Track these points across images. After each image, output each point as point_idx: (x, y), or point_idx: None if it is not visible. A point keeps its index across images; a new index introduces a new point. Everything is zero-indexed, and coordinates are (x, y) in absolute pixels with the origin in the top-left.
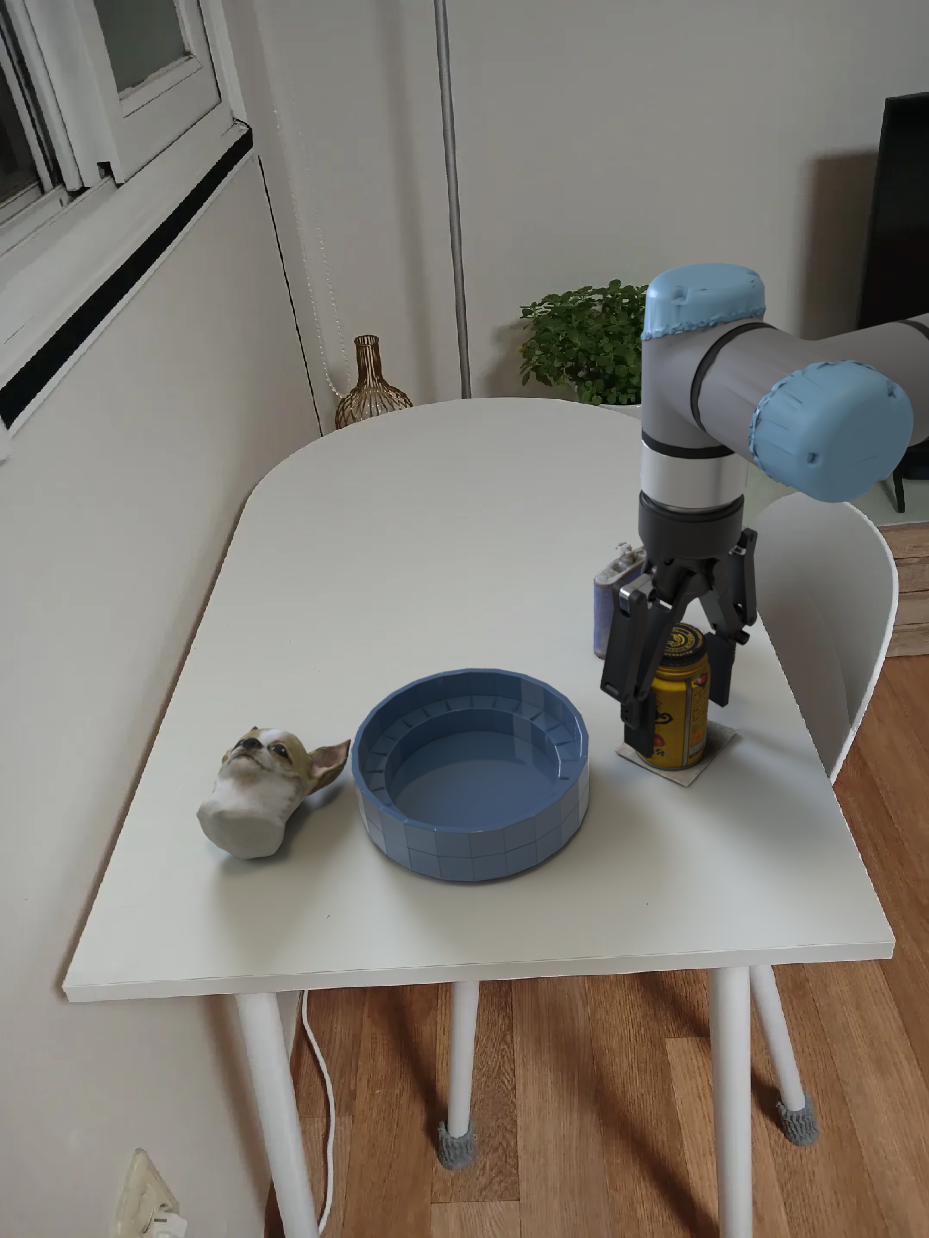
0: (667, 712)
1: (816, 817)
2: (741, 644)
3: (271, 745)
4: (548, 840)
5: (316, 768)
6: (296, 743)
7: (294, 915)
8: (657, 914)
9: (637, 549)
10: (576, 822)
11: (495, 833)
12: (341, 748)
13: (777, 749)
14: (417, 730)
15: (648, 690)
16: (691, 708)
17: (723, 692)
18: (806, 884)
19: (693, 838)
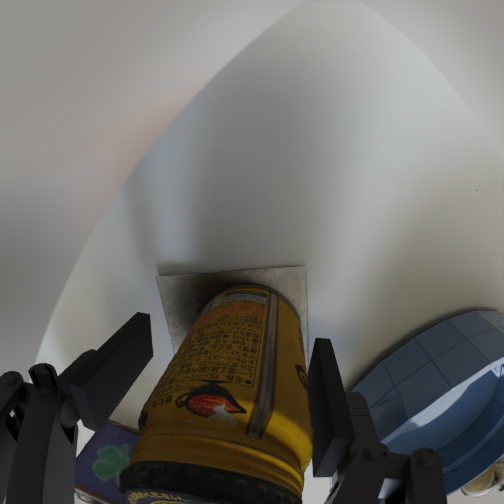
0: (301, 384)
1: (222, 94)
2: (54, 372)
3: (493, 485)
4: (499, 321)
5: None
6: (481, 485)
7: None
8: (479, 173)
9: (85, 498)
10: (457, 323)
11: None
12: None
13: (144, 213)
14: None
15: (358, 457)
16: (261, 359)
17: (136, 330)
18: (335, 51)
19: (377, 200)
